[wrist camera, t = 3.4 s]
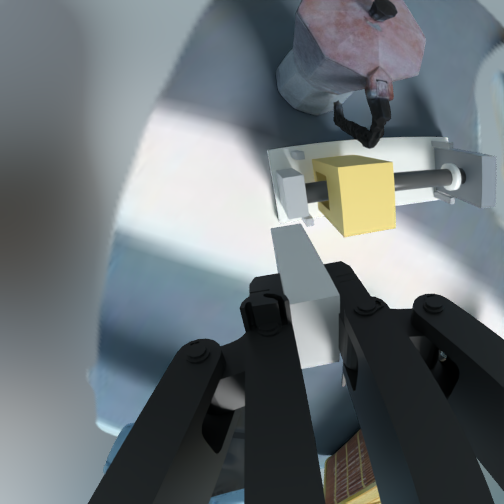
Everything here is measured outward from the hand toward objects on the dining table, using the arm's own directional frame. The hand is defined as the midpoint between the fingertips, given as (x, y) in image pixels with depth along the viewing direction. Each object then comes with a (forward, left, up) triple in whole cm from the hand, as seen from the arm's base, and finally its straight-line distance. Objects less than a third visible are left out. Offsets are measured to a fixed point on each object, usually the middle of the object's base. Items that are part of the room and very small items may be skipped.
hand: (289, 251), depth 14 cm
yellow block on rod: (+8, 0, -17) cm, 19 cm away
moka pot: (+8, +12, -21) cm, 25 cm away
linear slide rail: (+14, 0, -21) cm, 25 cm away
